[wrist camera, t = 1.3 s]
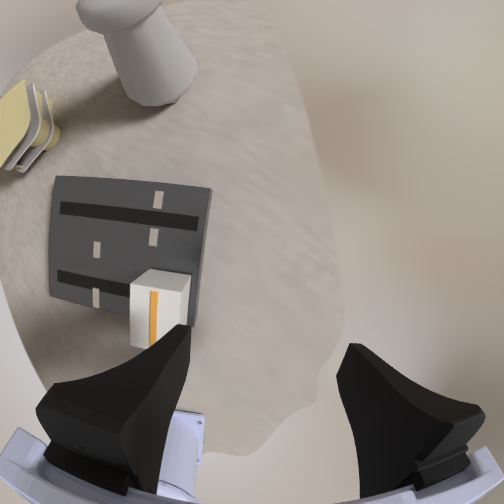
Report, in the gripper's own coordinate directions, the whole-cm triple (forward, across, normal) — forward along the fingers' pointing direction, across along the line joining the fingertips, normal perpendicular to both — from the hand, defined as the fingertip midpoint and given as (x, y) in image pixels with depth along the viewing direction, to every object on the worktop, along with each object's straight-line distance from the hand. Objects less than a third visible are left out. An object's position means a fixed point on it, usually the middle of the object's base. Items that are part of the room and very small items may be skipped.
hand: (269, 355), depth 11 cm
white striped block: (+7, +6, +2) cm, 10 cm away
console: (+10, +11, -1) cm, 15 cm away
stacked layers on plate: (+11, +23, -10) cm, 27 cm away
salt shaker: (+12, +10, -14) cm, 21 cm away
